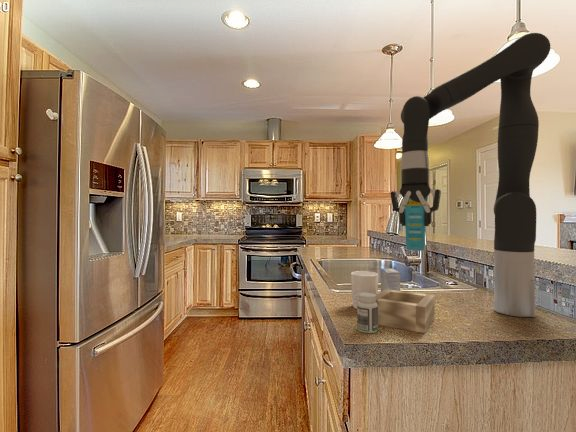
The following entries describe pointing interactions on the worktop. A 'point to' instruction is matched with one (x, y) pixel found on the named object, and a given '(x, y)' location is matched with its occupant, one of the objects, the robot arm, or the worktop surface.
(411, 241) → the tube
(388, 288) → the medicine box
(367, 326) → the pill bottle
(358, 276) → the white cup
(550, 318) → the worktop surface
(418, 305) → the socket holder
